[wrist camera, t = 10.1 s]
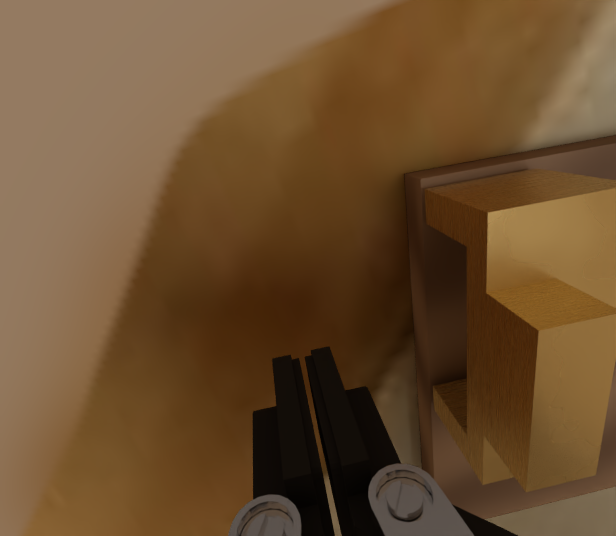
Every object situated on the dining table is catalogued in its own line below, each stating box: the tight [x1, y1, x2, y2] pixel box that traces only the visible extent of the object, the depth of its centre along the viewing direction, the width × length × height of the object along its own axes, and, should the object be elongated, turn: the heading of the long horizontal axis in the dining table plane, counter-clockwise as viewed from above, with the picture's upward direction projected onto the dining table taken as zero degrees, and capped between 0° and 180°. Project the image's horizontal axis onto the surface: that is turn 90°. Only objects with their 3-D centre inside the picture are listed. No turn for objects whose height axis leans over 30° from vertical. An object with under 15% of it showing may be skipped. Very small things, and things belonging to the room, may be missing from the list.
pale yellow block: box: [425, 168, 616, 492], centre depth 12 cm, size 9×4×6 cm, turn 9°
